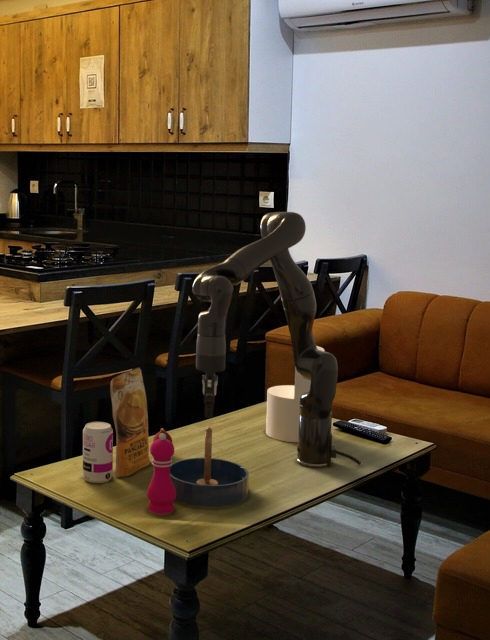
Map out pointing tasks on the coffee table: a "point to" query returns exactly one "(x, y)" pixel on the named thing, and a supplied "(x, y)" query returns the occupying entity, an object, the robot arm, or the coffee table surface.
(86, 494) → the coffee table surface
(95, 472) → the supplement can
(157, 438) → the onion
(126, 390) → the pancake mix bag
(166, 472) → the pepper mill
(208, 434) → the wooden disc peg
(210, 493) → the bowl
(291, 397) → the cylinder
